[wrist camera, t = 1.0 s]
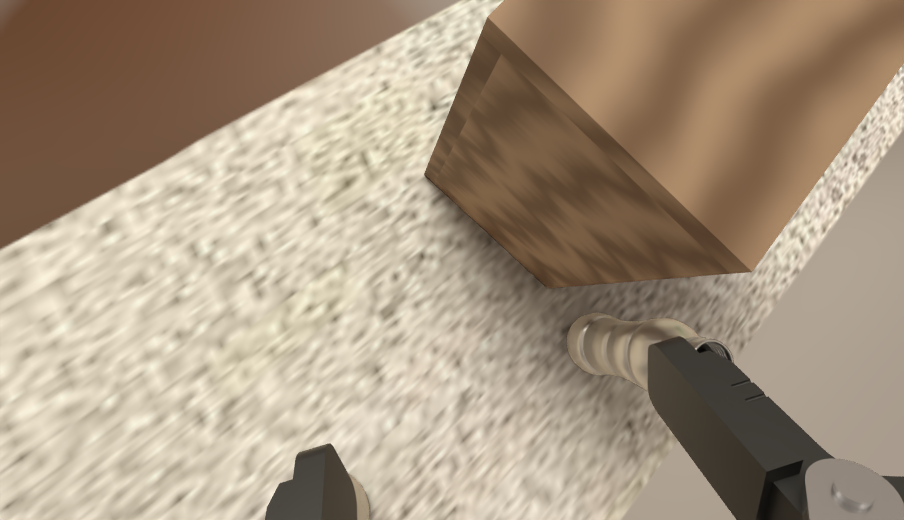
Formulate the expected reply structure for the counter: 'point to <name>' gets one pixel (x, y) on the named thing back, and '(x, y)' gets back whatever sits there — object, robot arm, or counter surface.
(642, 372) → the plastic bottle
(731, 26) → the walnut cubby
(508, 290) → the counter surface
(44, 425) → the counter surface
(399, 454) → the counter surface
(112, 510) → the counter surface
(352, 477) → the robot arm
